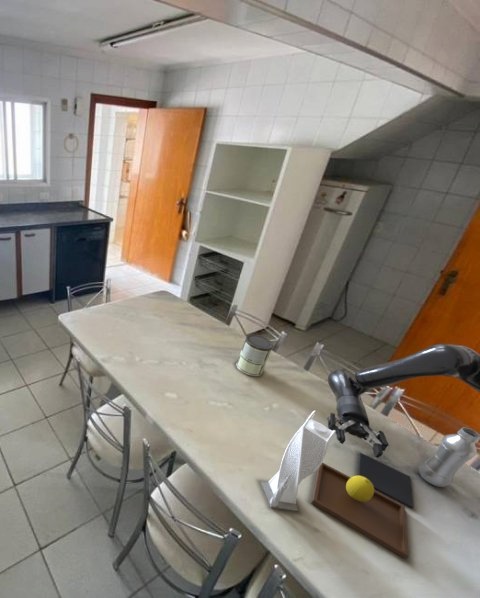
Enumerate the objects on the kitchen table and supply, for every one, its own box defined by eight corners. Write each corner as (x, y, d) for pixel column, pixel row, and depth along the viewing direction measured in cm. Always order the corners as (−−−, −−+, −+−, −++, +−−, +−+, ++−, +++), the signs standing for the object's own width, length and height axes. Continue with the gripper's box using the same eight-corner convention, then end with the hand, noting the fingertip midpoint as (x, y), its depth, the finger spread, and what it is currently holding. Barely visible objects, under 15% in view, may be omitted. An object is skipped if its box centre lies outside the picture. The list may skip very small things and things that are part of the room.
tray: (401, 509, 89) (404, 505, 88) (405, 559, 78) (408, 556, 77) (318, 464, 100) (320, 461, 99) (311, 503, 89) (313, 499, 88)
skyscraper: (258, 477, 94) (295, 406, 81) (287, 481, 94) (329, 411, 81) (270, 507, 87) (313, 434, 74) (302, 512, 86) (350, 439, 73)
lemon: (343, 484, 94) (356, 466, 90) (367, 498, 91) (381, 480, 87) (338, 496, 91) (352, 478, 87) (363, 512, 87) (377, 493, 84)
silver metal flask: (439, 493, 94) (483, 446, 85) (410, 473, 99) (449, 426, 90) (449, 485, 96) (494, 439, 87) (421, 466, 102) (460, 420, 93)
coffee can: (233, 359, 145) (243, 332, 138) (257, 363, 143) (268, 336, 137) (239, 374, 136) (249, 346, 129) (265, 378, 134) (277, 350, 128)
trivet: (408, 477, 98) (409, 476, 98) (411, 508, 89) (413, 507, 89) (359, 453, 104) (360, 452, 104) (358, 480, 96) (359, 478, 96)
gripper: (331, 395, 109) (336, 428, 96) (384, 413, 103) (398, 451, 90) (321, 411, 112) (326, 445, 100) (372, 430, 107) (384, 469, 94)
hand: (360, 448), depth 95 cm, fingers open, 8 cm apart
